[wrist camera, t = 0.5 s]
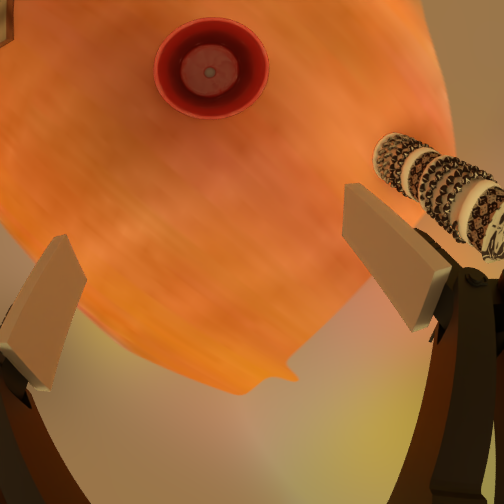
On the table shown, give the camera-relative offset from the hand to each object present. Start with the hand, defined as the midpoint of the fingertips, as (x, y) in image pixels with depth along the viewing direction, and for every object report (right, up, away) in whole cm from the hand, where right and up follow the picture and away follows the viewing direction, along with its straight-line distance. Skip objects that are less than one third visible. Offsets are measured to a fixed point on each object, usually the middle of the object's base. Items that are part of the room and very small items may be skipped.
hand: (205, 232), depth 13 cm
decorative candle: (+25, +14, +28) cm, 40 cm away
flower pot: (-3, +21, +18) cm, 28 cm away
